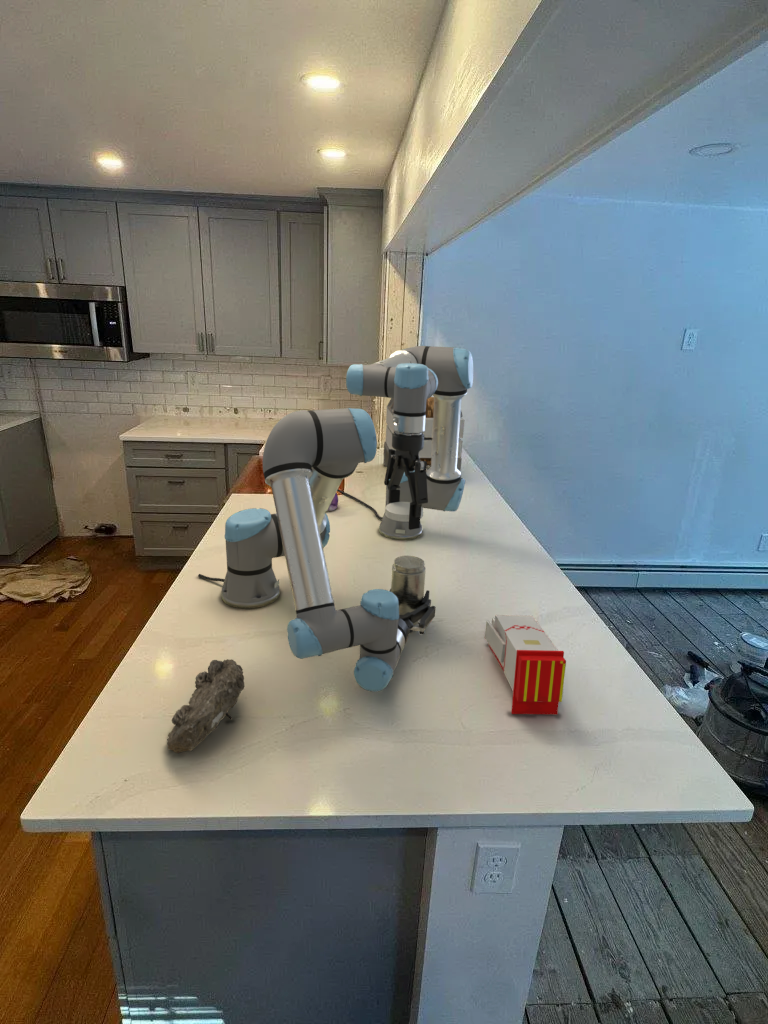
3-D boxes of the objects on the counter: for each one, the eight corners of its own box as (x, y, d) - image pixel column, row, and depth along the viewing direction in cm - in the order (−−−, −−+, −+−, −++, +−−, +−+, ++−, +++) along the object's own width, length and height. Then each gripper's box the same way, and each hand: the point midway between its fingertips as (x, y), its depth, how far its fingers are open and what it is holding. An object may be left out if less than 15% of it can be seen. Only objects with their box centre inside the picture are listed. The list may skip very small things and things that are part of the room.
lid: (387, 506, 145) (388, 500, 144) (424, 510, 143) (425, 503, 143) (381, 519, 136) (382, 512, 135) (421, 523, 135) (421, 516, 134)
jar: (428, 625, 143) (432, 564, 137) (401, 633, 139) (405, 571, 133) (408, 610, 149) (412, 552, 144) (383, 618, 145) (385, 558, 139)
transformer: (382, 463, 289) (386, 382, 275) (445, 464, 293) (451, 384, 279) (390, 482, 257) (394, 392, 243) (460, 483, 261) (468, 394, 247)
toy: (530, 600, 137) (574, 657, 108) (525, 651, 140) (567, 720, 111) (480, 599, 137) (511, 656, 107) (477, 651, 139) (506, 719, 110)
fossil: (192, 660, 117) (244, 628, 112) (224, 691, 120) (276, 661, 115) (142, 746, 98) (202, 712, 93) (182, 779, 101) (242, 748, 96)
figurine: (320, 513, 215) (320, 475, 210) (311, 505, 224) (311, 468, 219) (343, 510, 219) (344, 473, 214) (333, 502, 228) (333, 466, 223)
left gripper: (343, 644, 129) (371, 598, 150) (434, 661, 124) (449, 611, 145) (344, 615, 127) (372, 573, 147) (437, 631, 122) (452, 585, 143)
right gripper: (372, 423, 140) (369, 509, 147) (419, 444, 122) (413, 540, 130) (398, 421, 143) (394, 505, 151) (448, 441, 125) (441, 534, 133)
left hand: (410, 592), depth 146 cm, fingers closed on jar, 8 cm apart
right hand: (403, 521), depth 140 cm, fingers closed on lid, 9 cm apart
